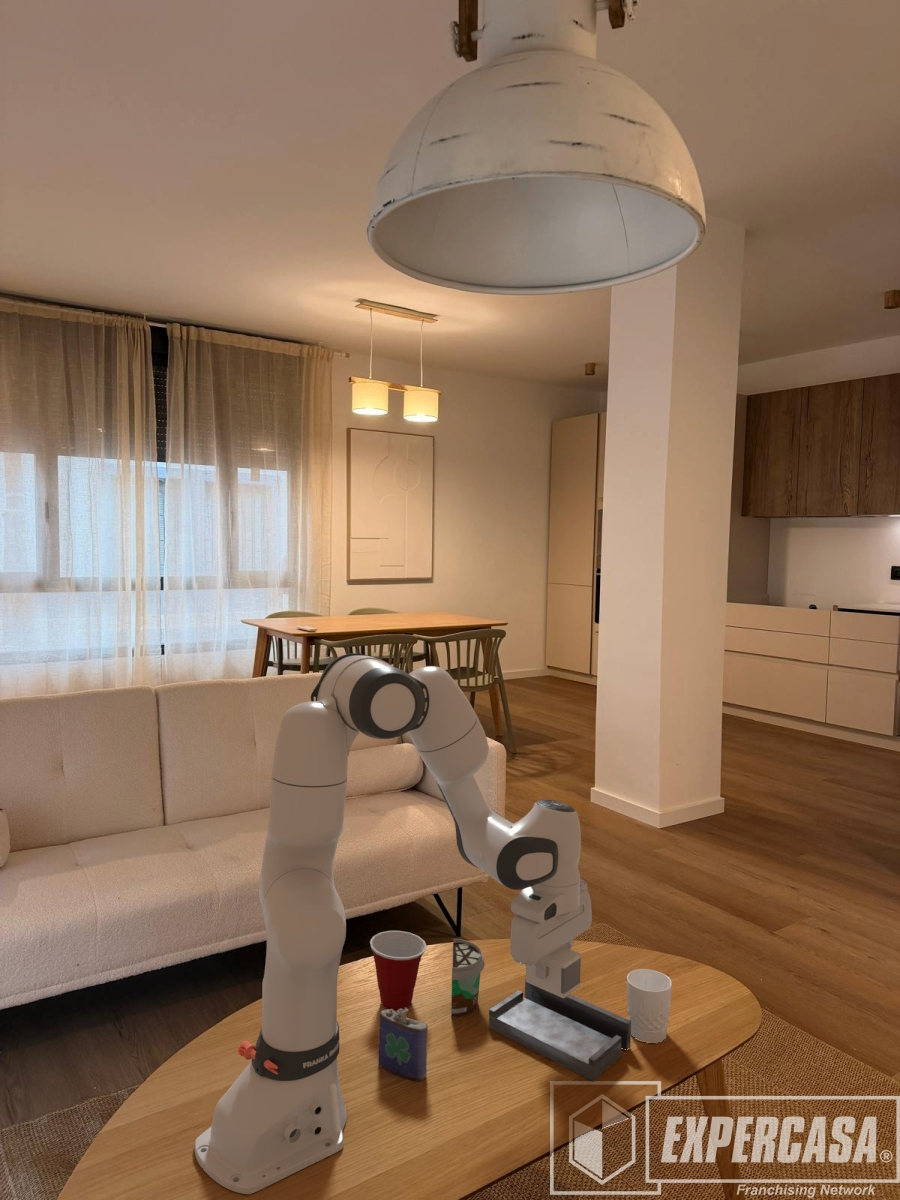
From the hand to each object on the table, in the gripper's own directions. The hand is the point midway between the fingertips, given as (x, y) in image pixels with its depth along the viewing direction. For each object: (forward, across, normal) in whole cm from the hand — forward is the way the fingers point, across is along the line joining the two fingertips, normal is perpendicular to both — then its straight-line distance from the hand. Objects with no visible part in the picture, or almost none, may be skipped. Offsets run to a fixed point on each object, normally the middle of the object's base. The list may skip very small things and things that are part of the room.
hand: (552, 969), depth 143 cm
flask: (+14, +23, -14) cm, 30 cm away
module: (+3, 0, 0) cm, 3 cm away
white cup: (+14, -15, +11) cm, 23 cm away
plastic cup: (+14, +9, -29) cm, 33 cm away
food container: (+14, 0, -19) cm, 24 cm away
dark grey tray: (+14, -2, 0) cm, 14 cm away
